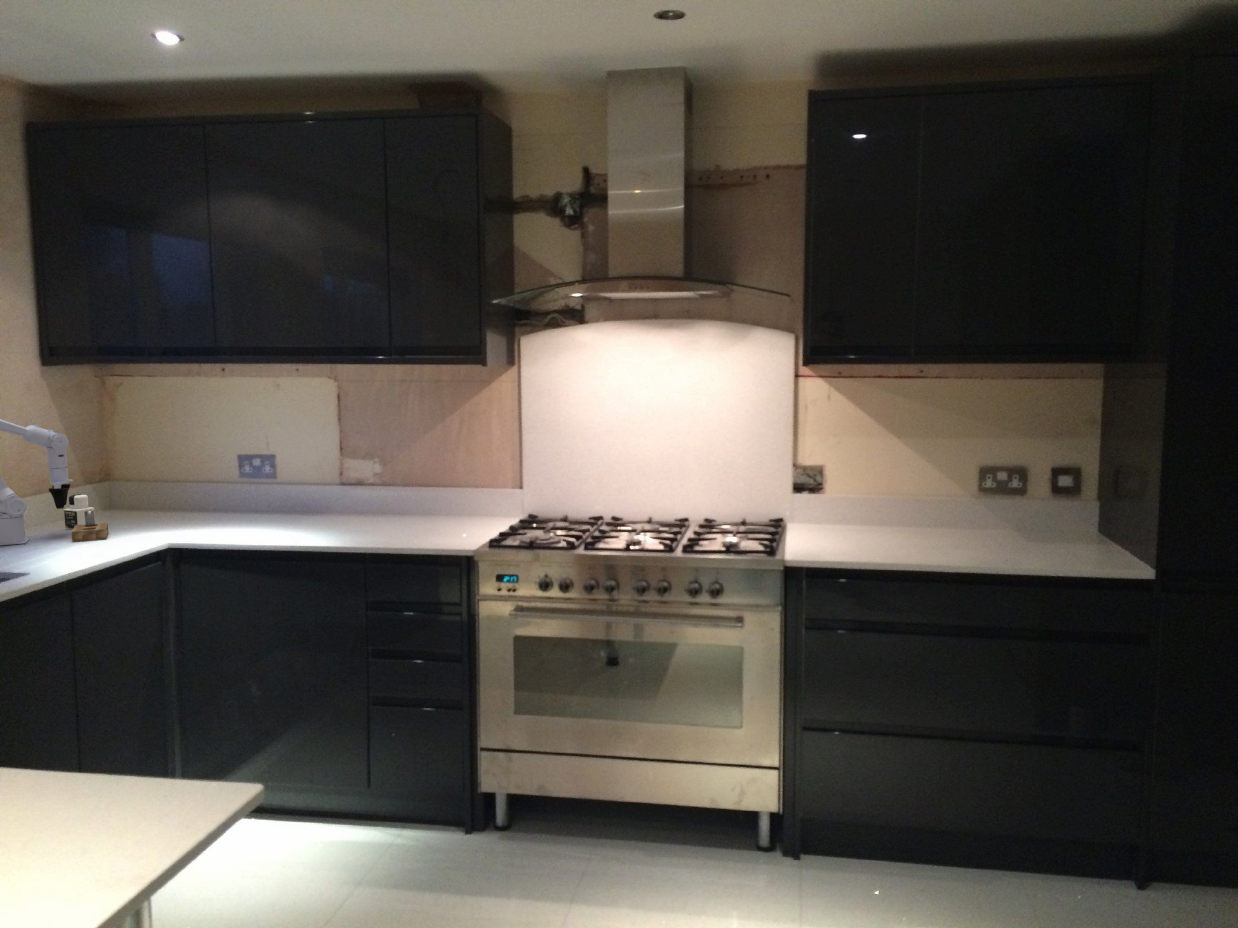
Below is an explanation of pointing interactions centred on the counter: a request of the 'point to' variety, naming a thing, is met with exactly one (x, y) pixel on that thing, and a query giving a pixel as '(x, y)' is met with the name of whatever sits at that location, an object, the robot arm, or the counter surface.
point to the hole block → (90, 532)
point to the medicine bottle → (76, 510)
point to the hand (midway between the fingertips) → (61, 506)
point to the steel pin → (89, 518)
